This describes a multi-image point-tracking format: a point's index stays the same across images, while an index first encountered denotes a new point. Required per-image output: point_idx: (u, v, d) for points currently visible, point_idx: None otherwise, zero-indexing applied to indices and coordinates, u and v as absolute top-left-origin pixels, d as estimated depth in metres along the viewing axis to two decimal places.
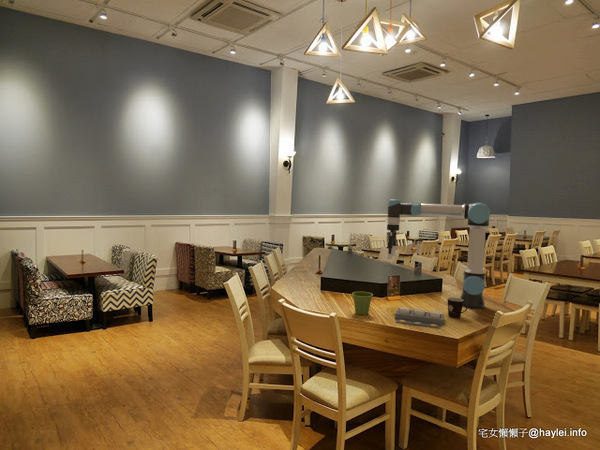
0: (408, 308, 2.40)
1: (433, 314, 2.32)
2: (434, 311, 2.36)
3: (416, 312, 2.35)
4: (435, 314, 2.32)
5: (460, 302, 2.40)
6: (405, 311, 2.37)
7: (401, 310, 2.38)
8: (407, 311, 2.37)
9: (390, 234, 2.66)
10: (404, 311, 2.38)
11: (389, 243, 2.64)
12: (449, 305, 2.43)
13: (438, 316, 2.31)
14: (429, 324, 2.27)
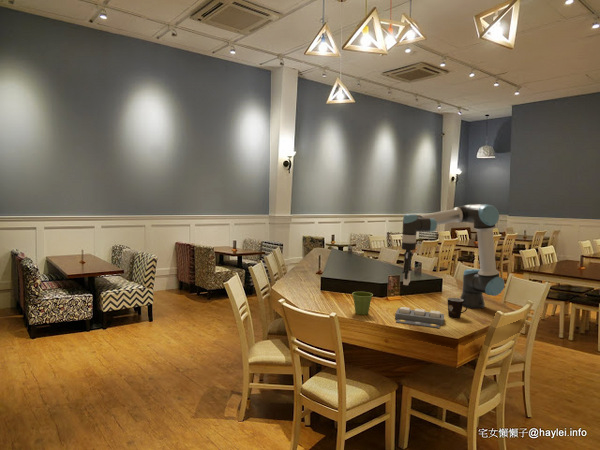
0: (408, 308, 2.40)
1: (433, 314, 2.32)
2: (434, 311, 2.36)
3: (416, 312, 2.35)
4: (435, 314, 2.32)
5: (460, 302, 2.40)
6: (405, 311, 2.37)
7: (401, 310, 2.38)
8: (407, 311, 2.37)
9: (405, 257, 2.32)
10: (404, 311, 2.38)
11: (405, 267, 2.32)
12: (449, 305, 2.43)
13: (438, 316, 2.31)
14: (429, 324, 2.27)
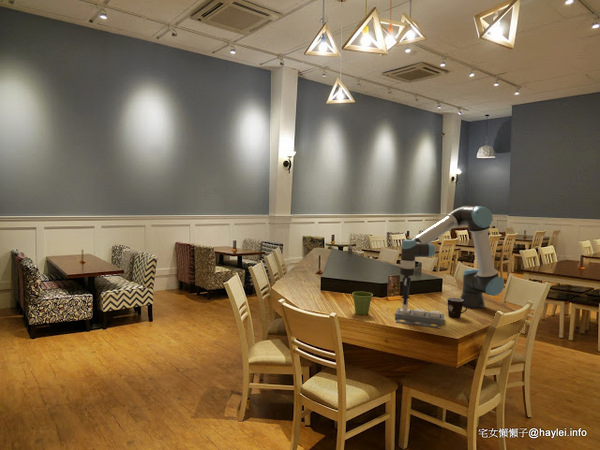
0: (408, 310, 2.40)
1: (433, 314, 2.32)
2: (434, 311, 2.36)
3: (416, 312, 2.35)
4: (435, 314, 2.32)
5: (460, 302, 2.40)
6: None
7: (401, 312, 2.38)
8: (407, 313, 2.37)
9: (404, 284, 2.33)
10: None
11: (404, 294, 2.35)
12: (449, 305, 2.43)
13: (438, 316, 2.31)
14: (429, 324, 2.27)
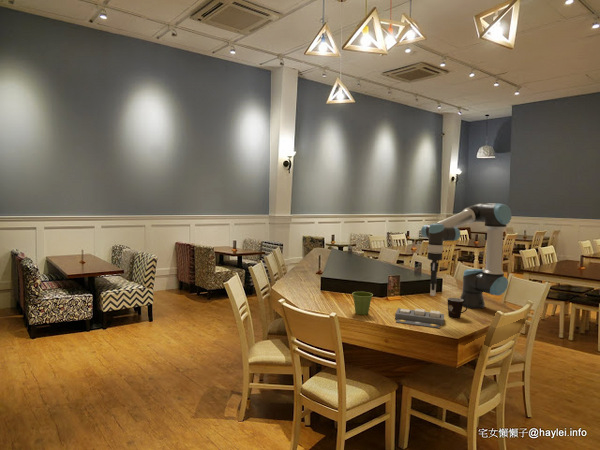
0: (408, 310, 2.40)
1: (433, 314, 2.32)
2: (434, 311, 2.36)
3: (416, 312, 2.35)
4: (435, 314, 2.32)
5: (460, 302, 2.40)
6: None
7: (401, 312, 2.38)
8: (407, 313, 2.37)
9: (432, 269, 2.28)
10: None
11: (432, 279, 2.30)
12: (449, 305, 2.43)
13: (438, 316, 2.31)
14: (429, 324, 2.27)
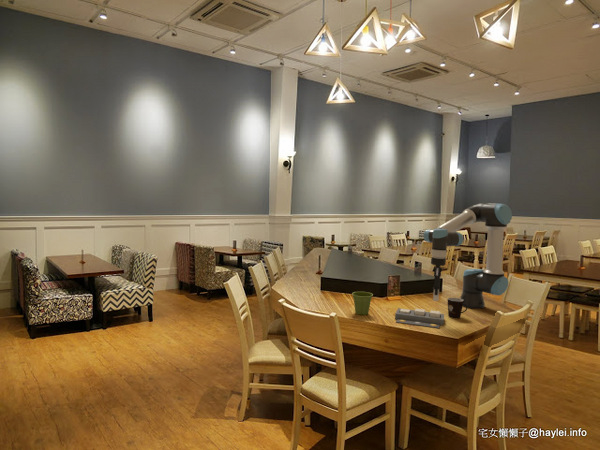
0: (408, 310, 2.40)
1: (433, 314, 2.32)
2: (434, 311, 2.36)
3: (416, 312, 2.35)
4: (435, 314, 2.32)
5: (460, 302, 2.40)
6: None
7: (401, 312, 2.38)
8: (407, 313, 2.37)
9: (436, 274, 2.27)
10: None
11: (435, 284, 2.29)
12: (449, 305, 2.43)
13: (438, 316, 2.31)
14: (429, 324, 2.27)
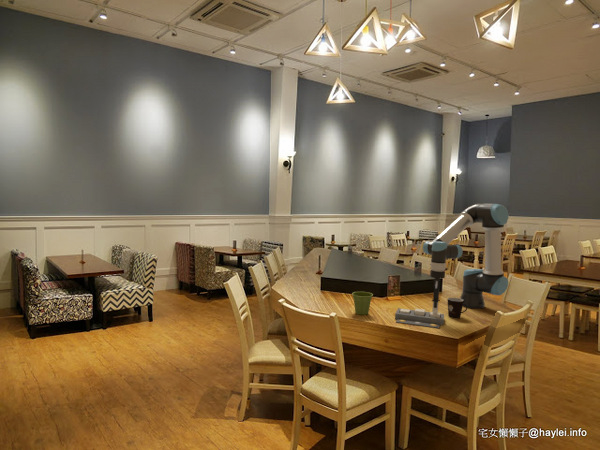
0: (408, 310, 2.40)
1: (433, 315, 2.32)
2: None
3: (416, 312, 2.35)
4: (435, 315, 2.32)
5: (460, 302, 2.40)
6: None
7: (401, 312, 2.38)
8: (407, 313, 2.37)
9: (435, 287, 2.28)
10: None
11: (435, 297, 2.30)
12: (449, 305, 2.43)
13: (438, 317, 2.32)
14: (429, 324, 2.27)
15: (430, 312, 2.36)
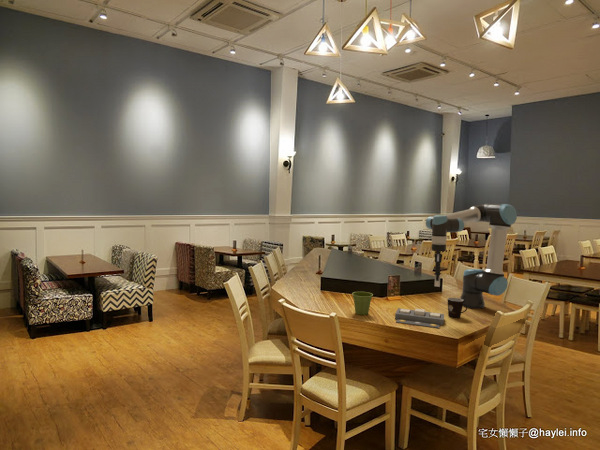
0: (408, 310, 2.40)
1: (433, 316, 2.32)
2: (434, 313, 2.36)
3: (416, 312, 2.35)
4: (435, 316, 2.32)
5: (460, 302, 2.40)
6: None
7: (401, 312, 2.38)
8: (407, 313, 2.37)
9: (437, 260, 2.31)
10: None
11: (436, 270, 2.33)
12: (449, 305, 2.43)
13: None
14: (429, 324, 2.27)
15: (430, 313, 2.36)
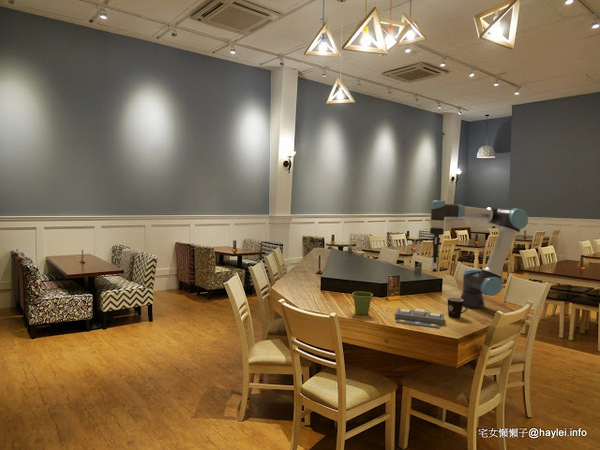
0: (408, 310, 2.40)
1: (433, 316, 2.32)
2: (434, 313, 2.36)
3: (416, 312, 2.35)
4: (435, 316, 2.32)
5: (460, 302, 2.40)
6: None
7: (401, 312, 2.38)
8: (407, 313, 2.37)
9: (434, 243, 2.42)
10: None
11: (434, 252, 2.44)
12: (449, 305, 2.43)
13: None
14: (429, 324, 2.27)
15: (430, 313, 2.36)
